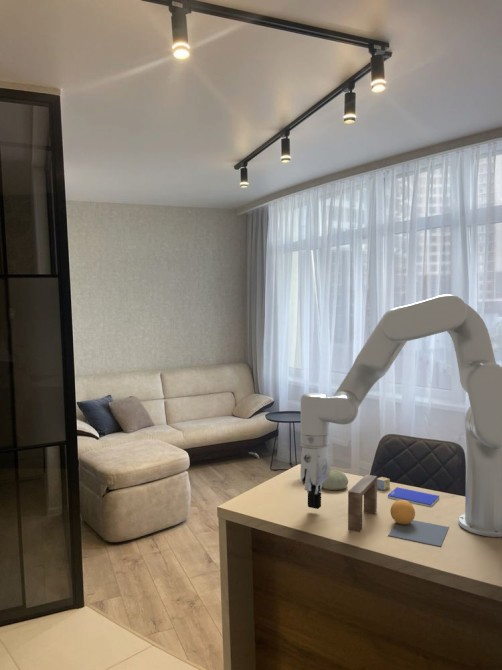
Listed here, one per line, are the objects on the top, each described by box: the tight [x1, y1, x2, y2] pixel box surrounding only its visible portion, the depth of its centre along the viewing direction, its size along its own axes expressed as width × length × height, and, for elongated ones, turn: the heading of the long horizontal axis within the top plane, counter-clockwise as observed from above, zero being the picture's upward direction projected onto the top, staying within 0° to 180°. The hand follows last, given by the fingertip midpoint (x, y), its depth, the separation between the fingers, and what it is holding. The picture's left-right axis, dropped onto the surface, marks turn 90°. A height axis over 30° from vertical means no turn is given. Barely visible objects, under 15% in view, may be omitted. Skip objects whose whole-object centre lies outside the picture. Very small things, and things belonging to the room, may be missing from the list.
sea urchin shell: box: [322, 469, 349, 491], centre depth 157 cm, size 9×8×8 cm
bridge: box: [347, 474, 378, 533], centre depth 131 cm, size 3×15×10 cm, turn 151°
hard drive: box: [387, 487, 440, 508], centre depth 147 cm, size 2×8×12 cm
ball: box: [390, 500, 416, 525], centre depth 129 cm, size 6×6×6 cm
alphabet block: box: [377, 476, 391, 491], centre depth 156 cm, size 3×3×3 cm
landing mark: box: [387, 519, 449, 548], centre depth 124 cm, size 12×12×1 cm
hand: (314, 506), depth 137 cm, fingers closed
